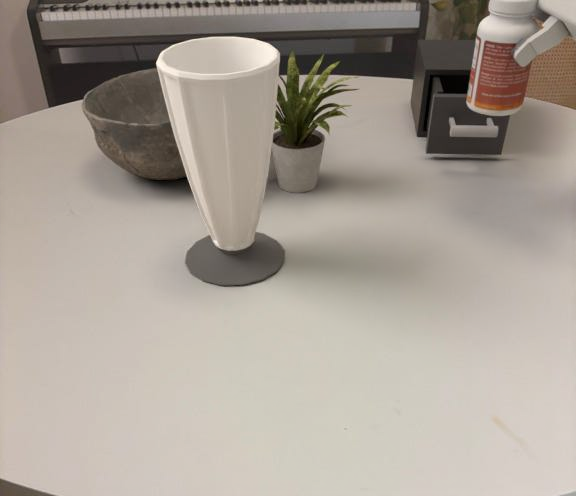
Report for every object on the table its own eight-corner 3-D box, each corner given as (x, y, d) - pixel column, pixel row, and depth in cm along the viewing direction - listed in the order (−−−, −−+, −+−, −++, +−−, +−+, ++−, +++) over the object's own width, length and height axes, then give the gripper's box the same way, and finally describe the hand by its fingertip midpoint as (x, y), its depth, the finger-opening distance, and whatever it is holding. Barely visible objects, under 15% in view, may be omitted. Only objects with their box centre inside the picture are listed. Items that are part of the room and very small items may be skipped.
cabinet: (494, 137, 96) (509, 70, 89) (416, 136, 97) (425, 69, 90) (481, 103, 106) (493, 40, 99) (410, 102, 106) (417, 39, 100)
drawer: (506, 169, 86) (520, 111, 81) (428, 168, 87) (437, 109, 82) (487, 119, 99) (498, 65, 93) (419, 118, 99) (426, 65, 94)
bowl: (128, 131, 99) (115, 62, 92) (258, 139, 96) (255, 69, 90) (73, 195, 85) (52, 118, 78) (224, 206, 82) (217, 128, 75)
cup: (304, 249, 74) (305, 47, 59) (245, 299, 68) (230, 85, 53) (226, 222, 79) (208, 29, 64) (163, 266, 72) (128, 61, 57)
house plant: (313, 225, 78) (316, 86, 67) (222, 197, 84) (210, 64, 72) (367, 179, 87) (377, 49, 75) (281, 156, 92) (279, 31, 81)
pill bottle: (533, 111, 71) (561, -3, 63) (489, 122, 69) (512, 6, 61) (496, 93, 75) (518, -16, 67) (454, 103, 73) (470, -8, 65)
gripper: (694, -20, 57) (562, 104, 62) (572, -62, 71) (474, 41, 77) (669, -77, 53) (531, 60, 59) (545, -110, 68) (444, 2, 73)
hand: (498, 49), depth 68 cm, fingers closed on pill bottle, 6 cm apart
